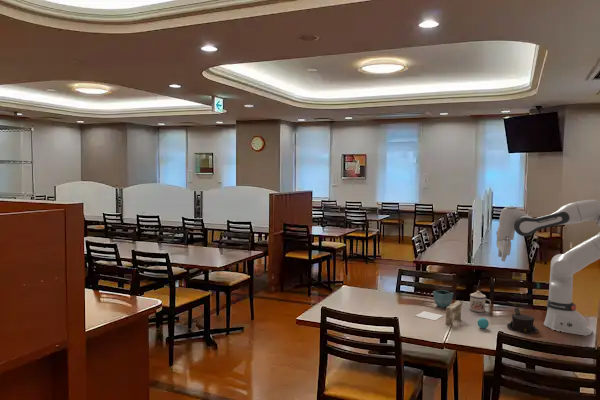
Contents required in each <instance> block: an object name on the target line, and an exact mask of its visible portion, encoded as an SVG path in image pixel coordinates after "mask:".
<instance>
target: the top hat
mask: <svg viewBox="0 0 600 400" xmlns="http://www.w3.org/2000/svg"><path fill="white" fill-rule="evenodd" d="M513 309H514V313H512V314H511V320H510V322H509V323H507V324H506V327H507V329H508V330H510V331H512V332H514V333H517V334H523V335H524V334H534V333H538V331H539V329H538V328H536V325H534V321H535V317H534V316H531V315H529V314H524V313H521V311H520V308H519V307H515V308H513Z"/></svg>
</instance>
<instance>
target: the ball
mask: <svg viewBox="0 0 600 400" xmlns="http://www.w3.org/2000/svg"><path fill="white" fill-rule="evenodd" d="M489 324H490V323H489V321H488V319H486V318H485V317H480V318H478V320H477V325H478V327H479V328H480V329H482V330H483V329H487V328H488V327H489Z"/></svg>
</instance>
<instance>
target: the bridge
mask: <svg viewBox="0 0 600 400" xmlns="http://www.w3.org/2000/svg"><path fill="white" fill-rule="evenodd" d="M445 311H446V312H445V325H448V326H452V325H453V320H459V321H460V320H461V317H462V302H457V301H456V302H454V303H451V304H450V305H449V306H448V307H445Z"/></svg>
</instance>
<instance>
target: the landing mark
mask: <svg viewBox="0 0 600 400" xmlns="http://www.w3.org/2000/svg"><path fill="white" fill-rule="evenodd" d="M414 317H418V318H421V319H426V320H430V321H433V322H434V321H435V322H436V321H437V320H439V319H441V318H443V317H444V315H443V314H437V313H434V312H429V311H425V310H423V311H422V312H420V313H418V314H416V315H414Z"/></svg>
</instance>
